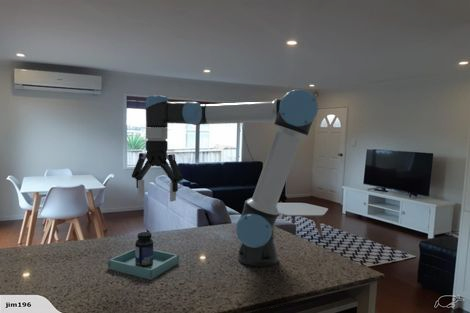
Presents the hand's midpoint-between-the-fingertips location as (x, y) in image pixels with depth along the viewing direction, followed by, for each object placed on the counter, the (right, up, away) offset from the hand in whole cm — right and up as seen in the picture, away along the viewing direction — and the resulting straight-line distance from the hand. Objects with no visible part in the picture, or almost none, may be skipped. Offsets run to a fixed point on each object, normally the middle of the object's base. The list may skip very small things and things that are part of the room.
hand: (156, 199), depth 124 cm
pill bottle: (-4, -23, -2) cm, 23 cm away
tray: (-4, -23, -2) cm, 24 cm away
